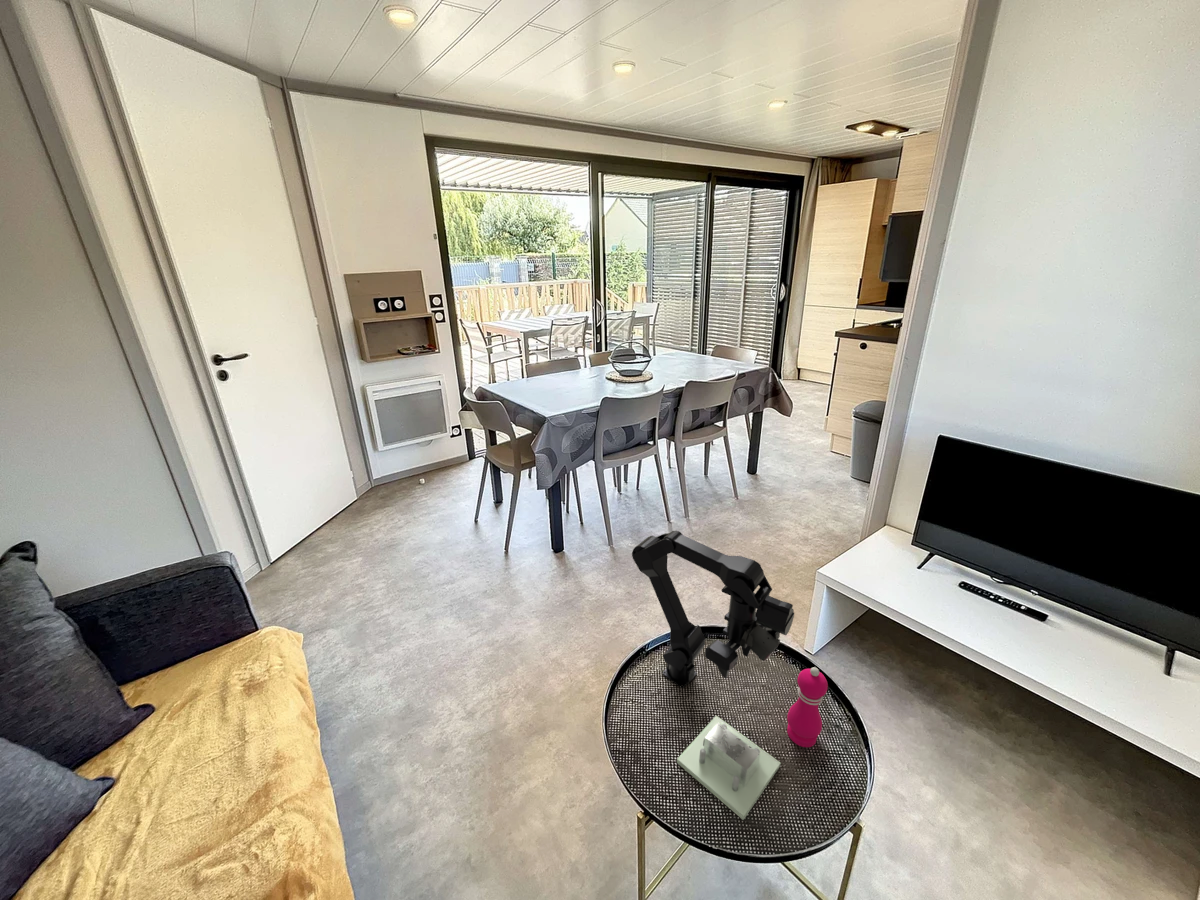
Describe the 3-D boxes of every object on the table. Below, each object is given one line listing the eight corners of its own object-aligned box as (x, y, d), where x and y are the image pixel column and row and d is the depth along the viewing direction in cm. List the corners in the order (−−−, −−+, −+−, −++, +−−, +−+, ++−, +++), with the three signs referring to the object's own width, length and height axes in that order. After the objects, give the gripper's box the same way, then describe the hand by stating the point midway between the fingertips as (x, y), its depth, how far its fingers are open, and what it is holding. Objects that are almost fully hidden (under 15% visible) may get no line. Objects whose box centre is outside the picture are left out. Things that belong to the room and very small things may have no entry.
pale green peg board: (676, 762, 103) (678, 749, 102) (715, 719, 113) (717, 706, 111) (743, 820, 93) (745, 806, 91) (779, 766, 102) (782, 753, 101)
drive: (756, 769, 101) (759, 753, 99) (744, 787, 97) (747, 770, 95) (714, 736, 108) (715, 721, 106) (701, 751, 104) (702, 735, 102)
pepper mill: (824, 748, 106) (840, 681, 99) (793, 751, 106) (806, 683, 98) (809, 719, 113) (823, 654, 105) (779, 721, 112) (791, 656, 105)
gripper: (753, 655, 95) (744, 711, 101) (795, 610, 107) (786, 663, 113) (706, 626, 103) (701, 680, 109) (751, 587, 115) (744, 638, 121)
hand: (735, 665), depth 113 cm, fingers open, 9 cm apart
